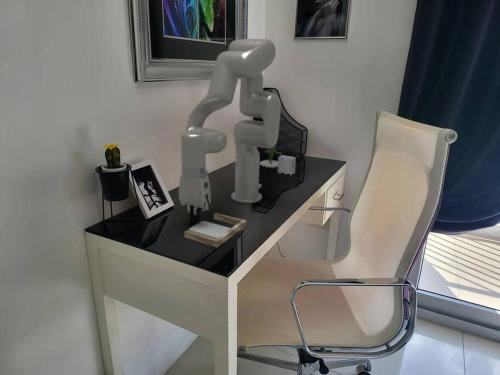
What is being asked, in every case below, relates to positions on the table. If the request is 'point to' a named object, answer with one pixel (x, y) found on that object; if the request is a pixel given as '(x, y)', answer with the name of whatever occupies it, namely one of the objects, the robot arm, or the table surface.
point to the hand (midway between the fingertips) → (194, 223)
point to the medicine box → (286, 164)
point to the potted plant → (271, 162)
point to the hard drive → (209, 229)
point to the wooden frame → (223, 238)
